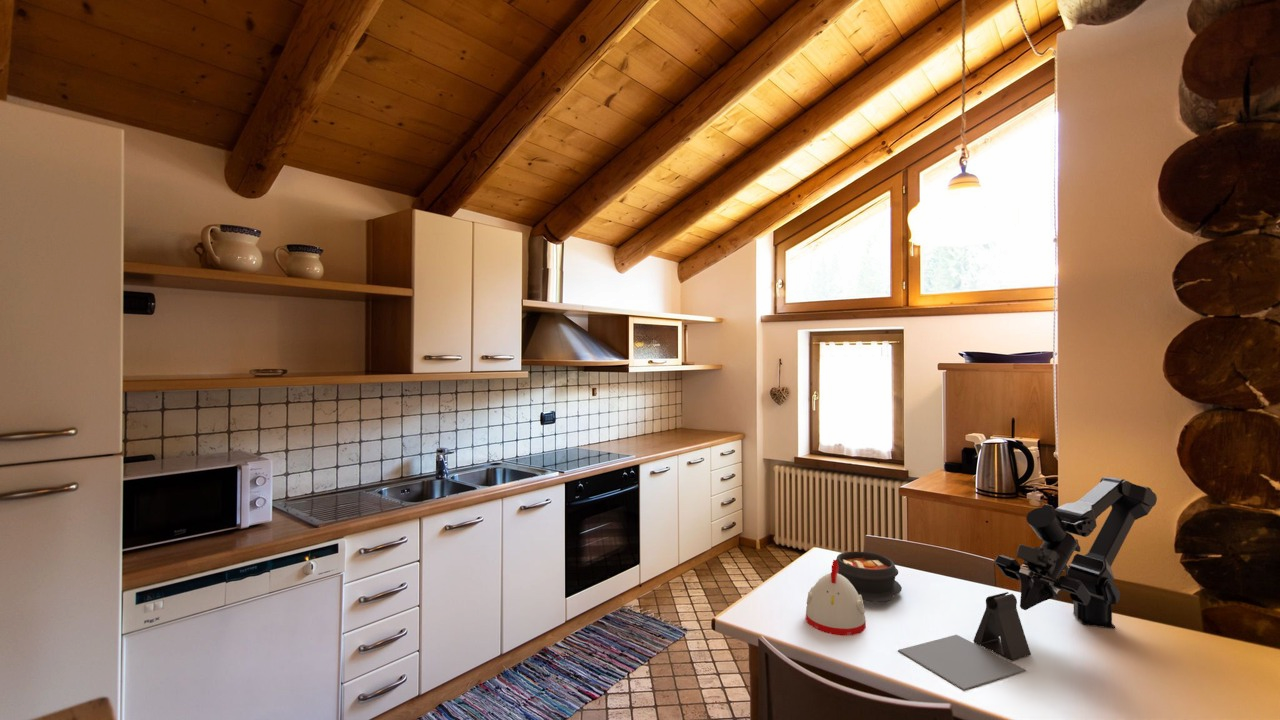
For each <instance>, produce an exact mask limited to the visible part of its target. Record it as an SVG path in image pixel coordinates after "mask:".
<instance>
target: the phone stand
mask: <svg viewBox="0 0 1280 720" xmlns="http://www.w3.org/2000/svg"><path fill="white" fill-rule="evenodd" d="M1017 604H1018V601H1017V597H1016V596H1015V594H1013V593H1009V592H1008V591H1006V592H1002V593H999V594H994V595H989V596H987V597H986V598H985V605H986V607H985V611H984V613H983V615H982V618H981V620H980V623H979V625H978V628H977V631H976V632H975V636H974V638H973V643H974V644H976V645H978V646H980V645H981V646H980V647H982V646H983V647H982V648H984V647H985V648H984V649H986V650H988V651H990V652H992V653H994V654H996V655H998V656H1000V657H1002V658H1004V659H1006V660H1008V661H1010V662H1013V661H1015V660H1019V659H1022V658H1025V657H1028V656H1029V657H1030V656H1031V651H1030V647H1029V644H1028V640H1027V638H1026V634H1025V631H1024V628H1023V625H1022V621H1021V619H1020V616H1019V613H1018V608H1017V606H1018V605H1017Z"/></svg>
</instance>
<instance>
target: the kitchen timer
mask: <svg viewBox="0 0 1280 720" xmlns="http://www.w3.org/2000/svg"><path fill="white" fill-rule="evenodd" d="M838 571H839V565H838V563H837V560H836V559H833V561H832V564H831V572H830V573H827V574H825V575H823V576H821V577H820V578H819V579H818V581H816V583H815V584H814V585H813V586H812V587H811V588H810V589H809V591H808V593H807V598H806V607H805V621H806V622H807V624H808V625H809V626H811V627H812V628H814V629H816V630H817V631H820V632H823V633H825V634H830V635H835V636H854V635H858V634H861V633H862V632H864V631H865V629H866V622H867V621H866V615H865V606H864V601H863V599H862V596H861V594H860V595H858V593H857V591H856V589H855V588H854V586H853V585H852V584H851V583H850V582H849V581H848V580H847V579H846V578H845V577H844V576H842V575H840V574H838Z"/></svg>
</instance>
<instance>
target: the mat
mask: <svg viewBox="0 0 1280 720" xmlns="http://www.w3.org/2000/svg"><path fill="white" fill-rule="evenodd" d="M897 652H899V653H901V654H902V655H904V656H905V657H907V658H909V659H911V660H913V661H914V662H915V663H918V664H919V665H921V666H922V667H923V668H925V669H928V670H929V671H931V672H932V673H934V674H936V675H938V677H941V678H943V679H944V680H946V681H947V682H949V683H951V684H952V685H954V686H956V687H958V688H959V689H960V690H962V691H967V690H969V689H972V688H973V689H974V688H976V687H980V686H982V685H985V684H989V683H991V682H994V681H998V680H997V679H999V680H1001V678H1002V679H1004V677H1005V678H1007V677H1011V676H1013V675H1017V674H1020V673H1024V672H1026V670H1027V669H1025V668H1024V667H1021V666H1019V665H1017V664H1016V663H1014V662H1013V661H1010V660H1008V659H1006V658H1004V657H1002V656H1000V655H998V654H996V653H994V652H993V651H990V650H988V649H986V648H984V647H982V646H980V645H978V644H976V643H974V642H972V641H970V640H969V639H966V638H964V637H962V636H961V635H959V634H954V635H949V636H946V637H942V638H939V639H935V640H931V641H928V642H923V643H919V644H915V645H911V646H907V647H903V648H900V649H898V650H897Z"/></svg>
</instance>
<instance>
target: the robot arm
mask: <svg viewBox="0 0 1280 720" xmlns="http://www.w3.org/2000/svg"><path fill="white" fill-rule="evenodd" d="M1157 499H1158V497H1157V494H1156V492H1154V491H1153V489H1152V488H1150V487H1148V486H1143V485H1139V484H1138V485H1137V484H1135V483H1133V482H1130V481H1128V480H1126V479H1123V478H1117V477H1113V476H1112V477H1110V476H1106V477H1105V476H1103V477H1102V478H1101V479H1100V481H1099V483H1098V484H1097V485H1095V486H1094V487H1093V488H1092V489H1091V490H1090V491H1088V492H1087V493H1086V494H1084V495H1083V496H1082V497H1081V498H1079V500H1077V501H1075V502H1073V501H1072V502H1068V503H1067V502H1066V503H1063V504H1062V505H1060V506H1058V507H1056V508H1055V507H1054V506H1053V505H1050V504H1045V503H1044V504H1042V506H1041V507H1036V508H1034V509H1031V511H1028V512H1027V515H1026V522H1027V523H1028V525H1029V526H1030V527H1031V528H1032V530H1033V531H1034V532H1035V534H1036V536H1037V537H1038V538H1039V539H1040V540H1041V541H1043V542H1042V544H1041V545H1040V547H1039V546H1035V547H1031V546H1028V545H1024V544H1022V543H1019V544H1018V548H1017V551H1016V555H1015V558H1012V557H1009V556H1006V555H1004V554H1000V555H998V556H996V558H995V559H994V561H993V563H994V565H996V567H997V568H998V570H999V571H1000V572H1001V574H1002V575H1003V576H1005V577H1006V578H1009V579H1012V580H1015V581H1020V586H1021V588H1020V589H1021V590H1020V591H1021V592H1020V602H1019V608H1020V609H1021V610H1024V611H1027V610H1029V609H1030V608H1033V607H1035V606H1037V605H1039V604H1040V603H1043V602H1045V601H1048V600H1051V599H1053V598H1055V599H1058V598H1059V595H1058V593H1059V591H1064V592H1067V593H1069V596H1070V599H1071V600H1072V602H1073V612H1072V615H1073V616H1075V617H1076V619H1078V620H1079V622H1080V623H1081V624H1082V625H1085V626H1090V627H1091V626H1092V627H1100V628H1105V629H1106V628H1107V629H1116V625H1114V624H1113V605H1117V604H1118V603H1119V601H1120V599H1121V591H1120V590H1119V589H1118V587H1117V586H1116V585H1115V583H1114V582H1115V576H1114V573H1113V570H1112V565H1113V563H1114V562H1115V559H1116V557H1117V555H1118V554H1119V551H1120V550H1121V548H1122V545H1123V544H1124V542H1125V540H1126V538H1127V536H1128V535H1129V533H1130V530H1131V529H1132V526H1133V525H1134V523H1135V521H1136V520H1139V519H1141V518H1143V517H1145V516H1147V515H1148V514H1149V513H1150V511H1151V510H1152V509H1153V507H1154V506H1156V504H1157ZM1110 507H1111V510H1110V511H1109V513H1108V515H1107V517H1106V519H1105V521H1104V522H1103V524H1102V526H1101V528H1100V530H1099V531H1098V534H1097V535H1096V537H1095V539H1094V540H1093V543H1092V545H1091V546H1090V549H1089V551H1088V552H1087V553H1085V554H1081V553H1079V552H1081V551H1082V550H1081V546H1080V544H1079V540H1078V539H1077V538H1075V537H1074V536H1073V535H1075V536H1079V537H1083V538H1087V537H1088V536H1090V535H1091V534H1092V533H1093V532H1094V530H1095V529H1096V528H1097V526H1098V525H1097V519H1098V517H1100V516H1101V514H1103V513H1104V512H1105V511H1107V510H1108V508H1110ZM1074 551H1075V552H1077V553H1075V555H1074V556H1073V558H1072V560H1071V562H1070V563H1069V564H1068V562H1069V561H1070V559H1071V557H1072V555H1073V553H1074ZM1016 558H1017V559H1021V560H1023V562H1022V563H1023V564H1024V565H1025V566H1022V565H1020V563H1019V562H1018V561H1017V559H1016ZM1067 564H1068V565H1067ZM1064 571H1065V575H1062V573H1063V572H1064Z"/></svg>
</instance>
